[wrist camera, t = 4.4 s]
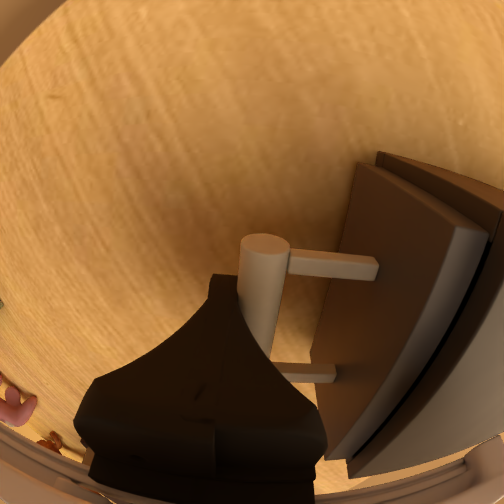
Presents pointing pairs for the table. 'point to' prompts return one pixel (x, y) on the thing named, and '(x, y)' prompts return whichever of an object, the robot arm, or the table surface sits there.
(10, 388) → the pink pronged piece
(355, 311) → the drawer
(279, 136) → the table surface
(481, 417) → the cabinet
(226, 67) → the table surface
